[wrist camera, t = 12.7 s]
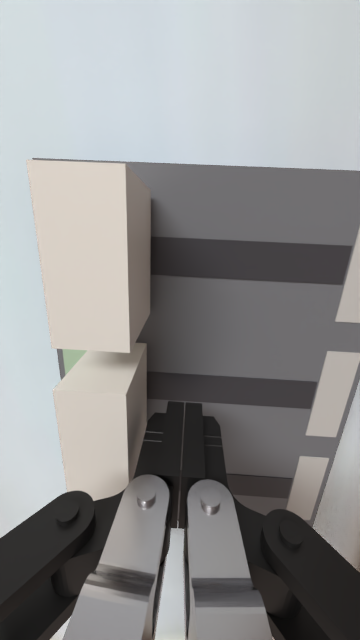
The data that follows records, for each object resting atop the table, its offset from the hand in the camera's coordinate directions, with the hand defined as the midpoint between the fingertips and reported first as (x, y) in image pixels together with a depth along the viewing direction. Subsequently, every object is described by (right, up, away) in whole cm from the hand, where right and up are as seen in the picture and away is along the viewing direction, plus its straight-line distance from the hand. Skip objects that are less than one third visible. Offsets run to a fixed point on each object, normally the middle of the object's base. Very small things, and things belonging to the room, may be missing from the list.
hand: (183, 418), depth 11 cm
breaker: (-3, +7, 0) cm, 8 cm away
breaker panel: (+1, +2, +5) cm, 5 cm away
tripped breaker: (-3, +1, +2) cm, 4 cm away
